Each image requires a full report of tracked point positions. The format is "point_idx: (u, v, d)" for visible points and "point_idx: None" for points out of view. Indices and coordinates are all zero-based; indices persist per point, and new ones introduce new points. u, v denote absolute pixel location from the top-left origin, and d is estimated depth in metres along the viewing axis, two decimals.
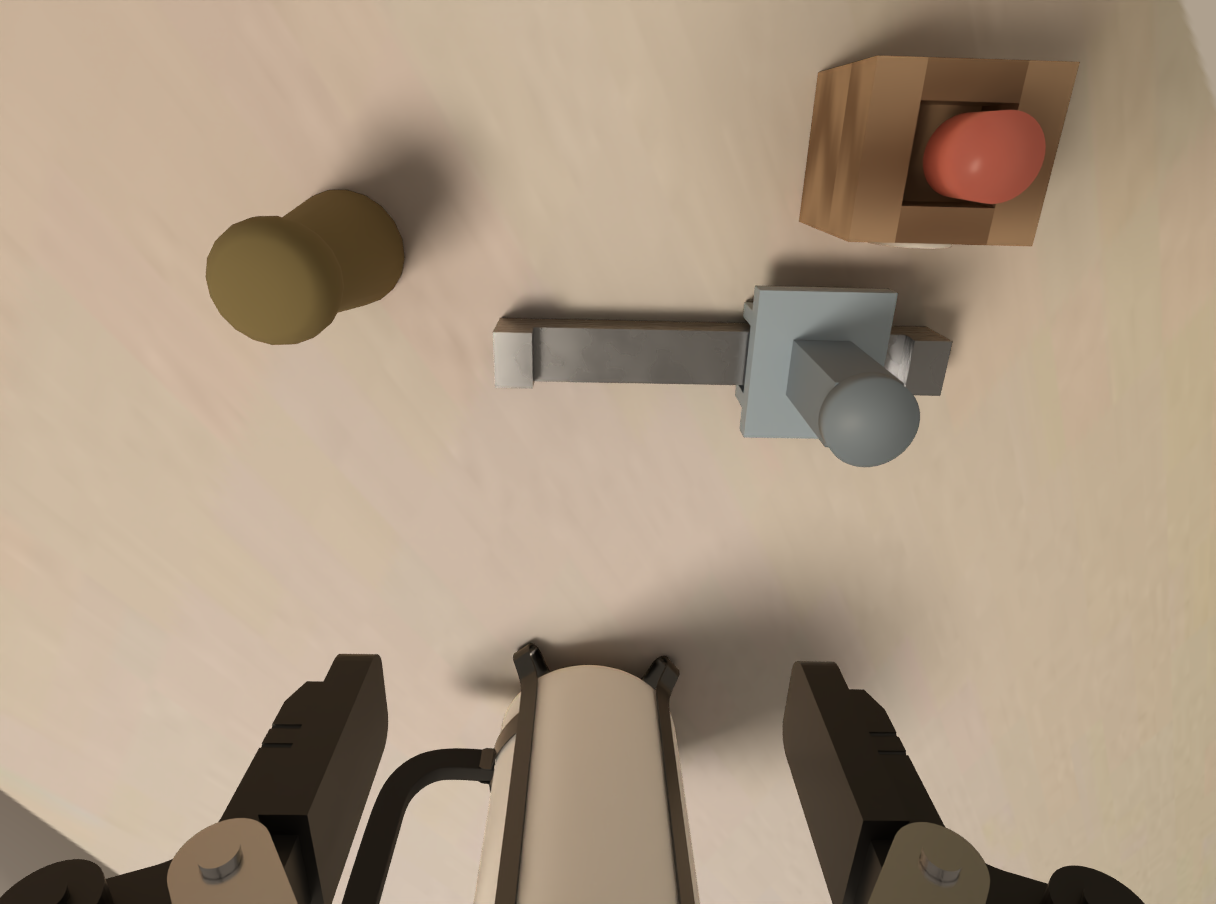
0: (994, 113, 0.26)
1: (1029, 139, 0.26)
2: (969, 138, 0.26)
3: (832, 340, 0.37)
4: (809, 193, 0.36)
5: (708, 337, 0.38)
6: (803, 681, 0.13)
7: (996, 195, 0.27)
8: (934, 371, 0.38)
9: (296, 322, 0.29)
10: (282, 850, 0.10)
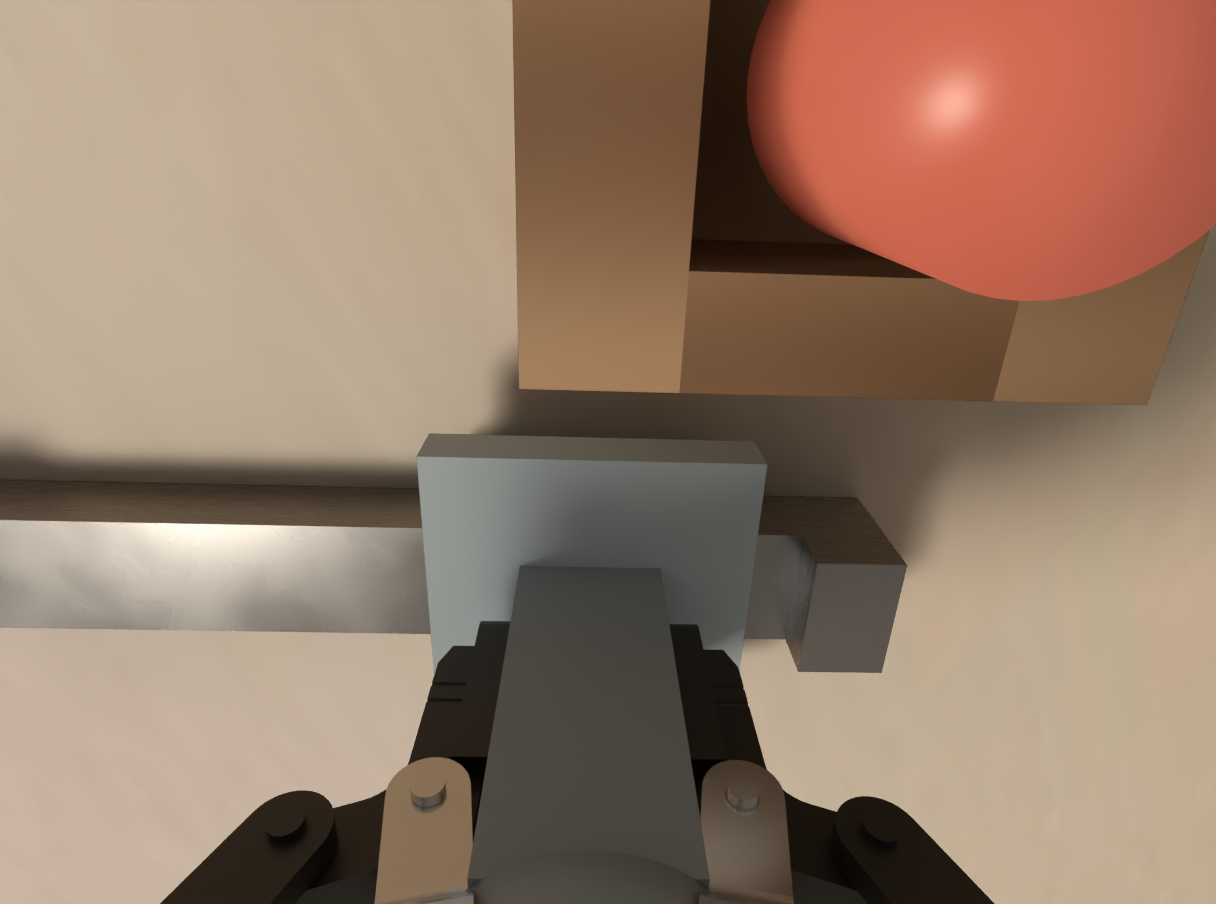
0: None
1: None
2: None
3: (615, 567, 0.15)
4: None
5: (348, 541, 0.17)
6: None
7: (1054, 259, 0.05)
8: (867, 626, 0.16)
9: None
10: (471, 788, 0.11)
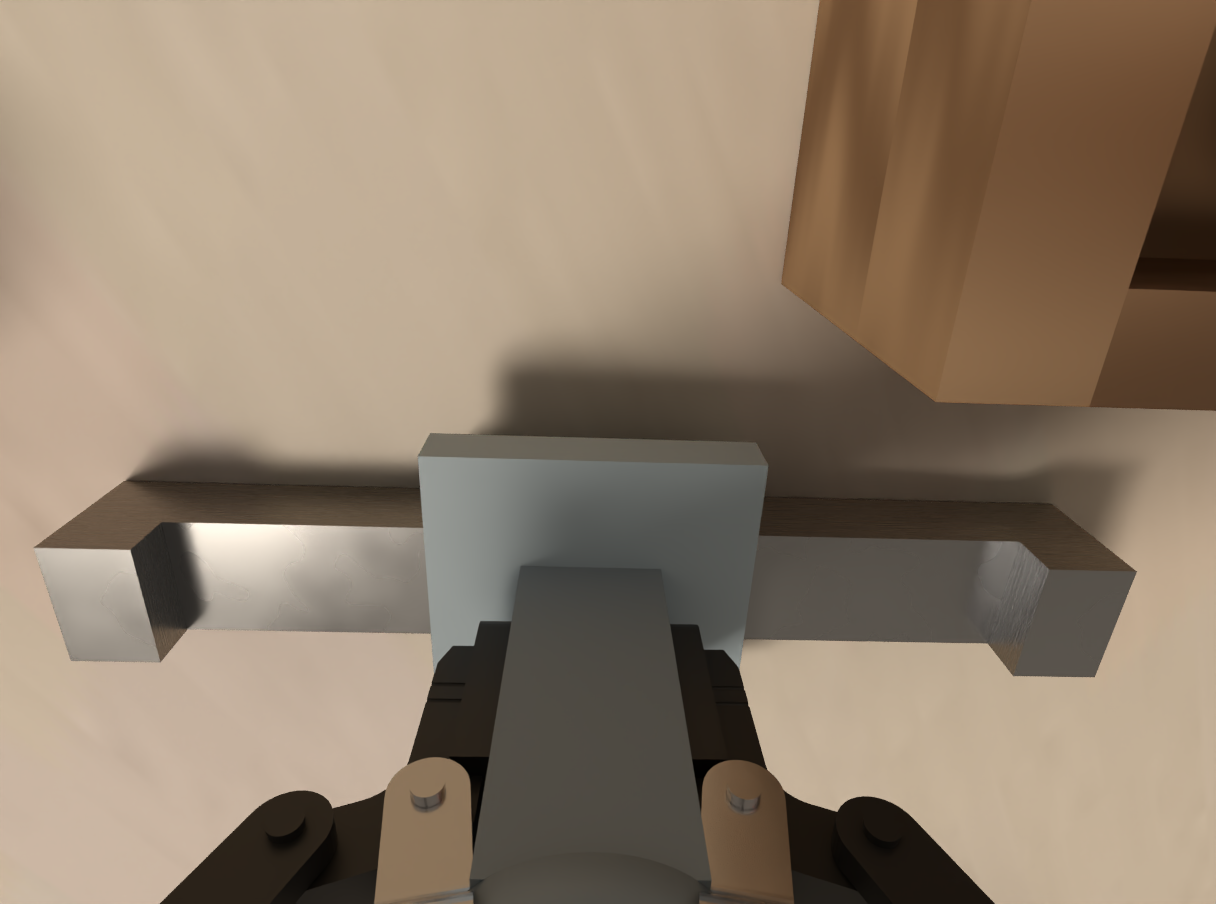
0: None
1: None
2: None
3: (616, 568, 0.15)
4: (806, 222, 0.15)
5: None
6: None
7: None
8: (1088, 631, 0.17)
9: None
10: (471, 788, 0.11)
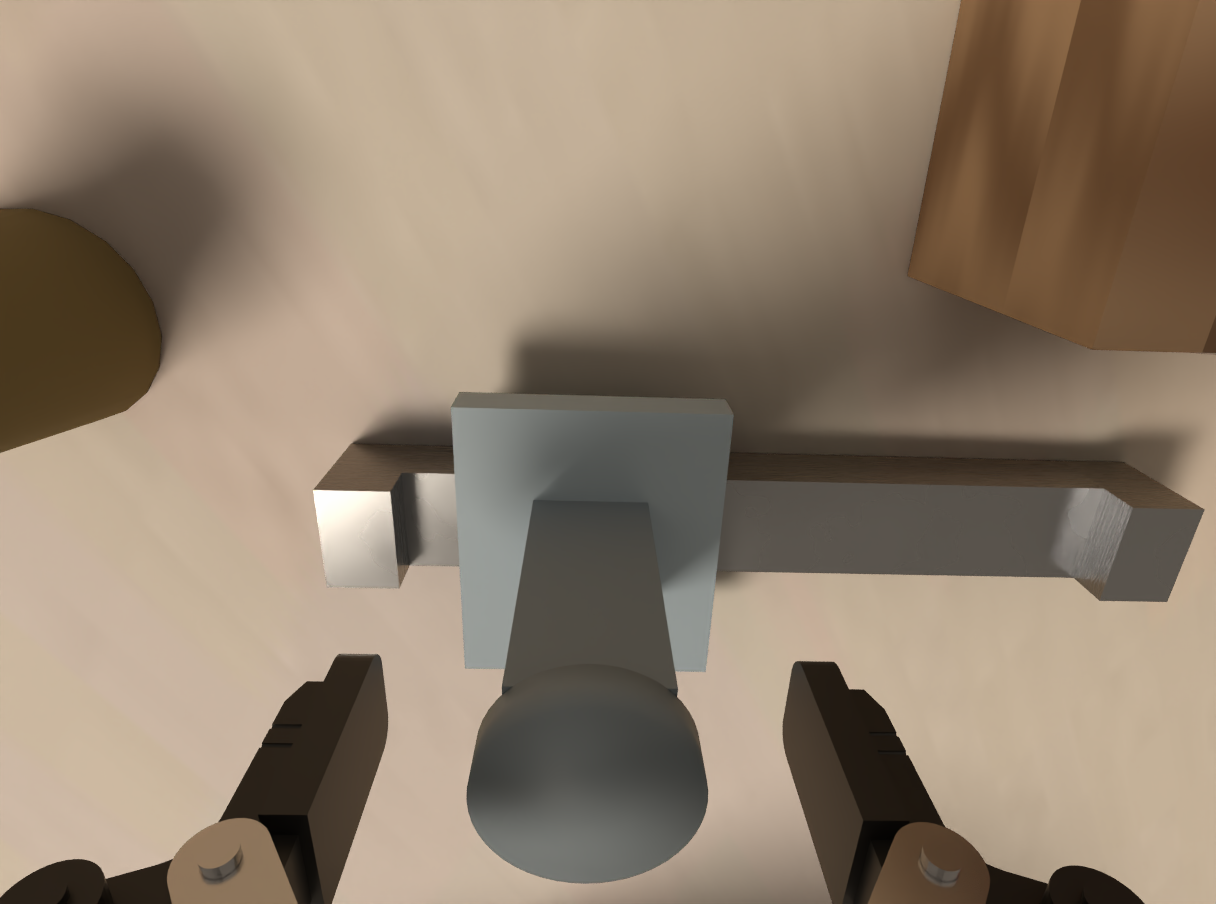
0: None
1: None
2: None
3: (611, 501, 0.19)
4: (938, 224, 0.18)
5: (735, 492, 0.20)
6: (803, 681, 0.13)
7: None
8: (1163, 561, 0.20)
9: None
10: (282, 850, 0.10)
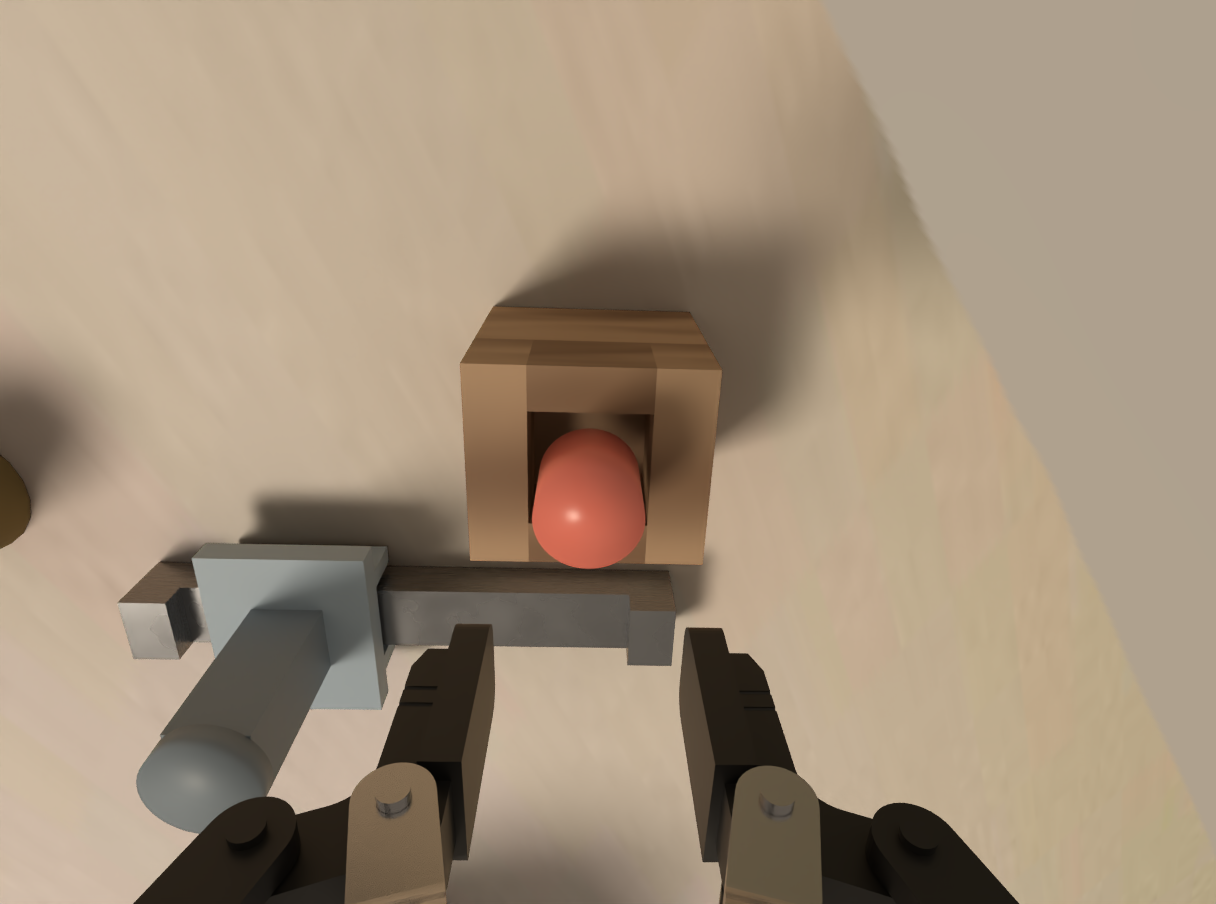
0: (568, 472, 0.20)
1: (621, 501, 0.20)
2: (541, 500, 0.20)
3: (299, 610, 0.30)
4: None
5: (393, 597, 0.32)
6: (689, 646, 0.14)
7: (592, 560, 0.21)
8: (660, 641, 0.32)
9: None
10: (439, 794, 0.11)
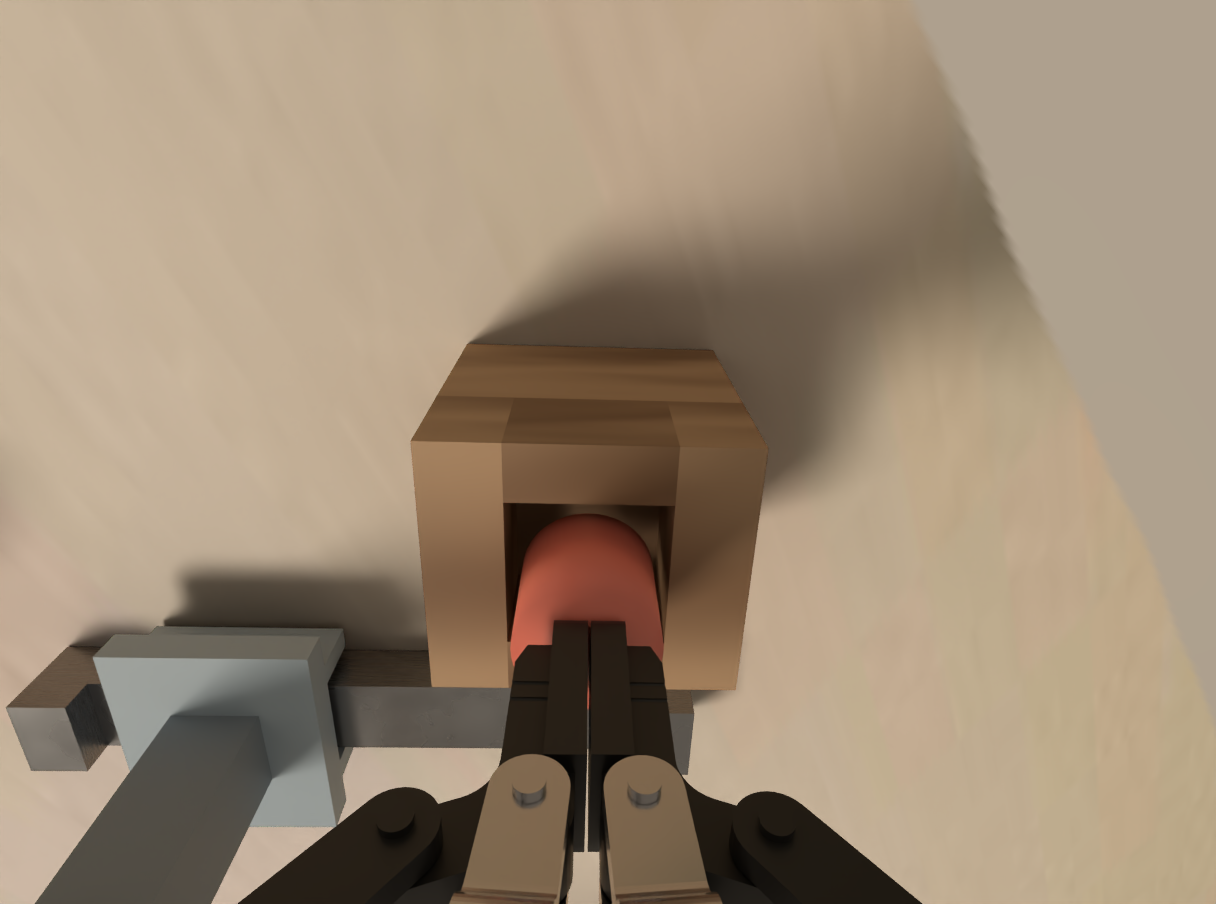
0: (559, 589, 0.14)
1: (630, 626, 0.15)
2: (522, 625, 0.15)
3: (230, 716, 0.25)
4: None
5: (349, 694, 0.26)
6: (591, 638, 0.14)
7: None
8: (674, 748, 0.26)
9: None
10: None
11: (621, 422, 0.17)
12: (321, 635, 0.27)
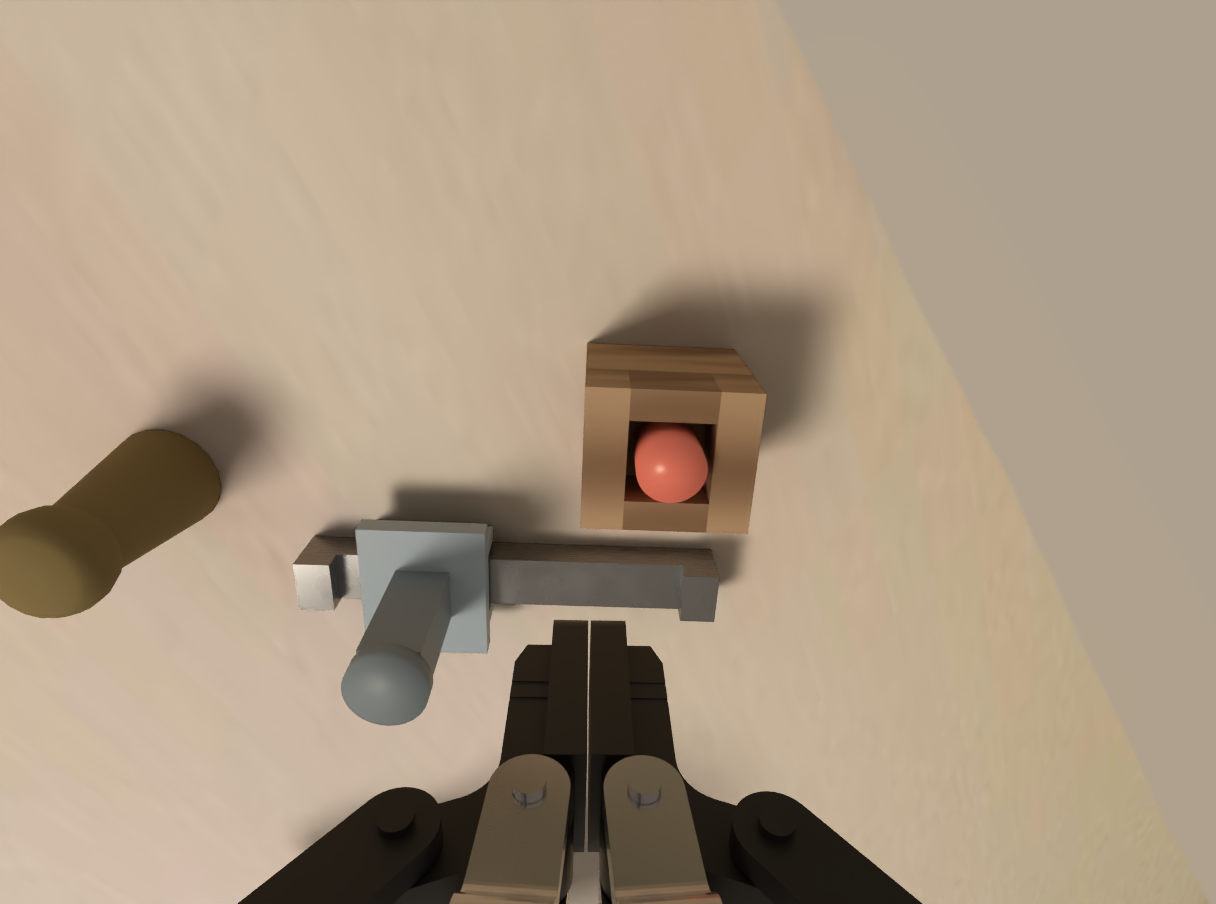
0: (661, 439, 0.31)
1: (692, 458, 0.32)
2: (643, 457, 0.32)
3: (431, 571, 0.40)
4: None
5: (499, 565, 0.41)
6: (591, 639, 0.14)
7: (672, 497, 0.32)
8: (706, 602, 0.41)
9: (64, 605, 0.32)
10: None
11: (689, 381, 0.33)
12: None
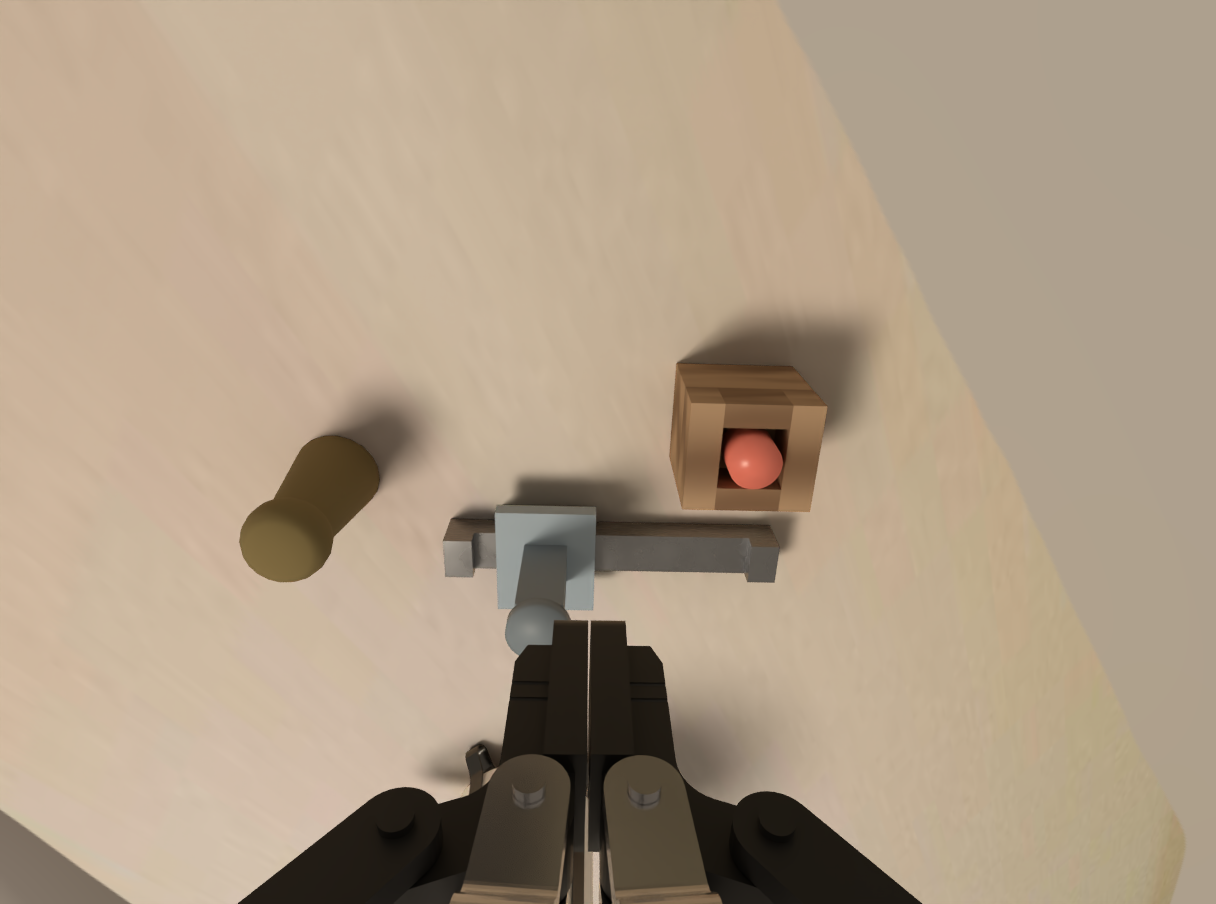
0: (748, 441, 0.42)
1: (771, 455, 0.42)
2: (734, 455, 0.42)
3: (553, 545, 0.50)
4: (672, 444, 0.50)
5: (603, 540, 0.52)
6: (591, 638, 0.14)
7: (755, 485, 0.43)
8: (768, 566, 0.52)
9: (300, 572, 0.42)
10: None
11: (766, 397, 0.43)
12: None
